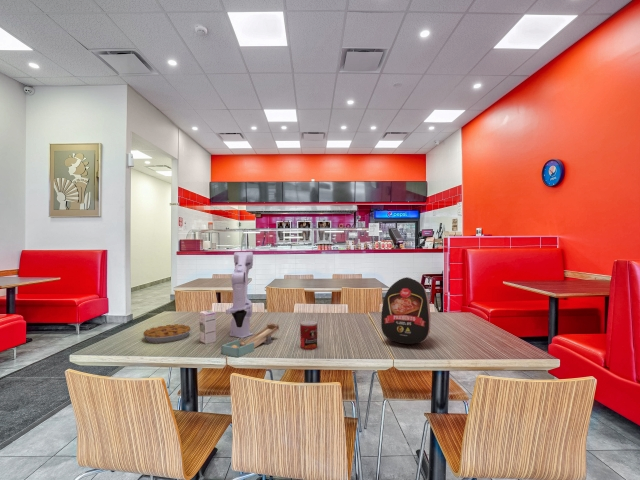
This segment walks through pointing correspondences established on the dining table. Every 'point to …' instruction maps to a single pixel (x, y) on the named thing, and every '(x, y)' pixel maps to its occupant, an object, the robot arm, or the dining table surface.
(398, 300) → the packaged food
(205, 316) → the syrup box
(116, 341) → the dining table surface
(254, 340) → the lever
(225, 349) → the teal u-shaped frame
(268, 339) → the fulcrum
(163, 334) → the pie
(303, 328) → the canned food
